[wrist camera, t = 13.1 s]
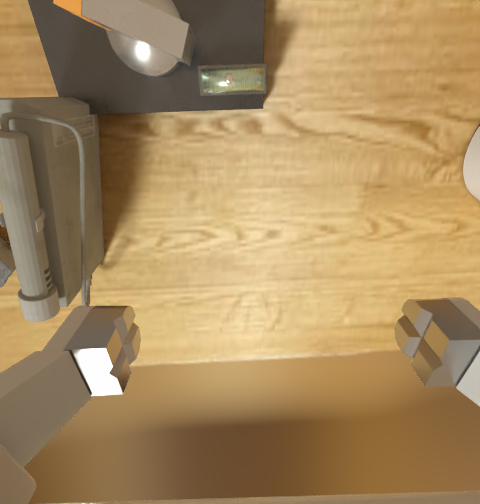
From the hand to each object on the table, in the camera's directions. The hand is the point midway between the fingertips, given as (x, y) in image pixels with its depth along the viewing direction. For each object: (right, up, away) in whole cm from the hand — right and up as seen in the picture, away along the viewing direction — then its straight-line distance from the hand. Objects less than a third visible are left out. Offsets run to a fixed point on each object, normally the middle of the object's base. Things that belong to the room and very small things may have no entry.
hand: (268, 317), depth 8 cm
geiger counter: (-19, +8, +27) cm, 34 cm away
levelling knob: (-9, +21, +16) cm, 28 cm away
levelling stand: (-9, +22, +18) cm, 30 cm away
